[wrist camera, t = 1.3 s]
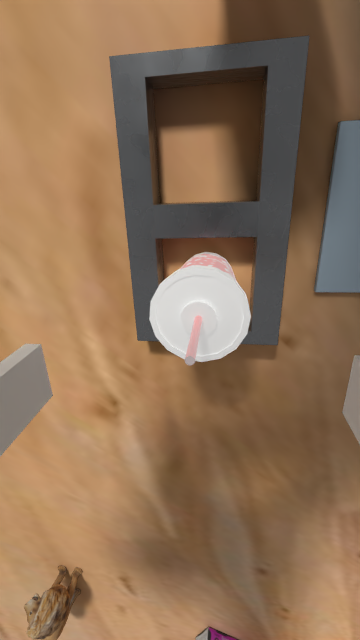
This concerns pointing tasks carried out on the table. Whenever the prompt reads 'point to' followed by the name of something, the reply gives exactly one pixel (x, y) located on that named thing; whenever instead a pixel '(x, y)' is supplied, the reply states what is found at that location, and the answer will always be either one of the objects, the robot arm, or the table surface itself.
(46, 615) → the lion figurine
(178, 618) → the table surface
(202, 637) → the candy bar box
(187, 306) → the beverage cup
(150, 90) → the dark grey slotted frame
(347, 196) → the slate mat
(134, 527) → the table surface
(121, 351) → the table surface
